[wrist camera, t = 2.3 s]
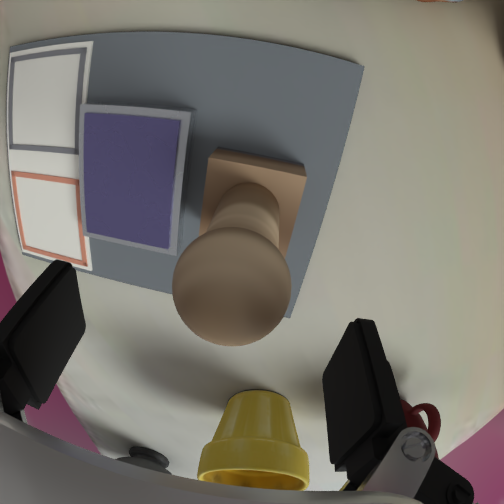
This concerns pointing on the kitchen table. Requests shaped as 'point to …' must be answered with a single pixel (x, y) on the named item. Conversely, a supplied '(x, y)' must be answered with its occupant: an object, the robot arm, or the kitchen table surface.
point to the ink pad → (135, 173)
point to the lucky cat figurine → (440, 0)
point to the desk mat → (225, 124)
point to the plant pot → (256, 445)
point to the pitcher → (146, 459)
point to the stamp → (240, 248)
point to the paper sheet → (48, 149)
